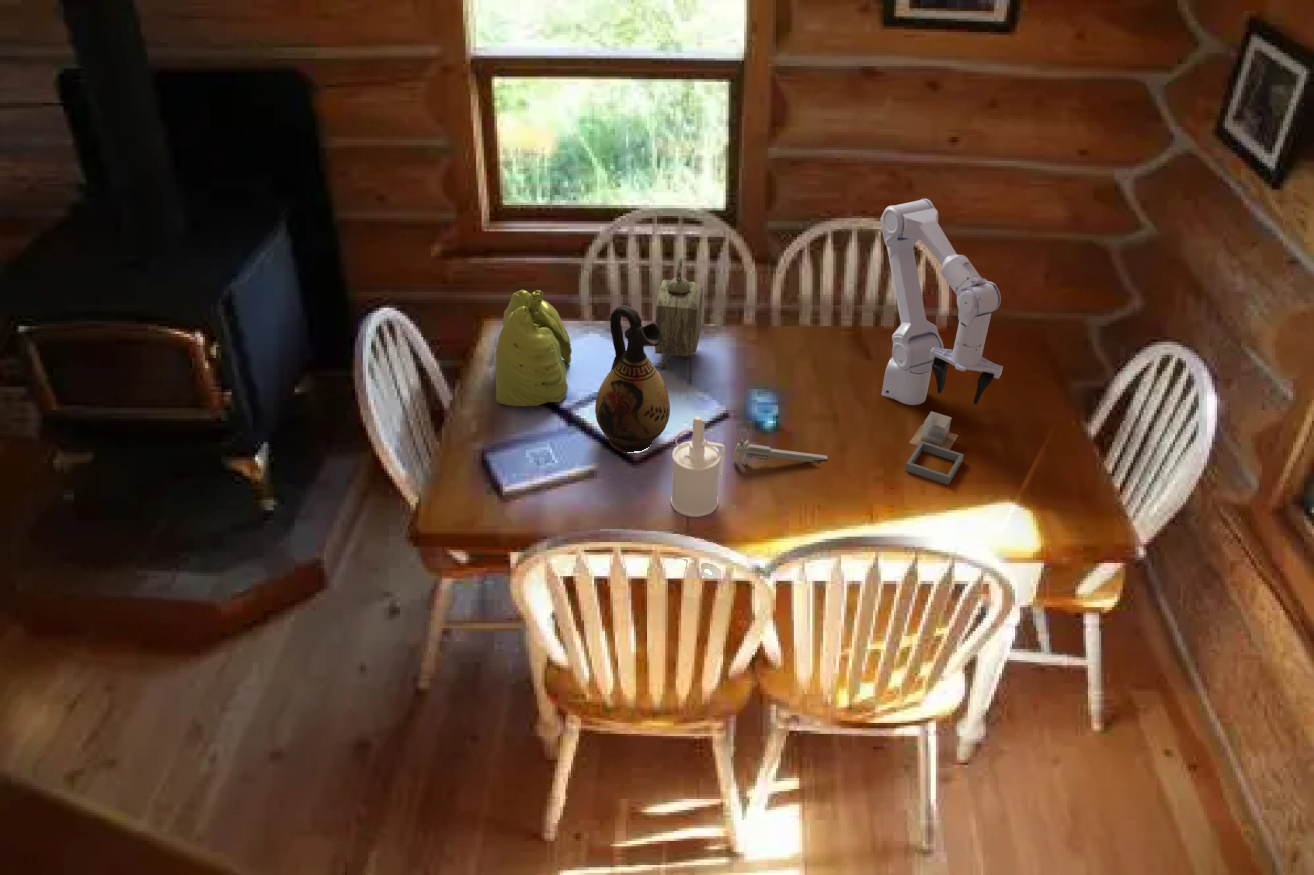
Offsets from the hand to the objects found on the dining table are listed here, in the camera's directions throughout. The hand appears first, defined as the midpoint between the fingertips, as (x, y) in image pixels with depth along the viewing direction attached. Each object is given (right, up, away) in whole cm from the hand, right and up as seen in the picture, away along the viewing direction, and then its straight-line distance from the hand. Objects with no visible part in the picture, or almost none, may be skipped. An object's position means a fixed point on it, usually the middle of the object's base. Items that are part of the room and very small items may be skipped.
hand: (958, 396), depth 230 cm
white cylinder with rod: (-55, -21, -14) cm, 60 cm away
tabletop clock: (-58, +10, +28) cm, 65 cm away
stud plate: (-4, -10, +3) cm, 11 cm away
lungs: (-90, +4, +19) cm, 92 cm away
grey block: (-4, -9, +2) cm, 10 cm away
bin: (-6, -15, -5) cm, 17 cm away
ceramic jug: (-68, -9, +2) cm, 69 cm away
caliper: (-37, -14, -4) cm, 40 cm away
